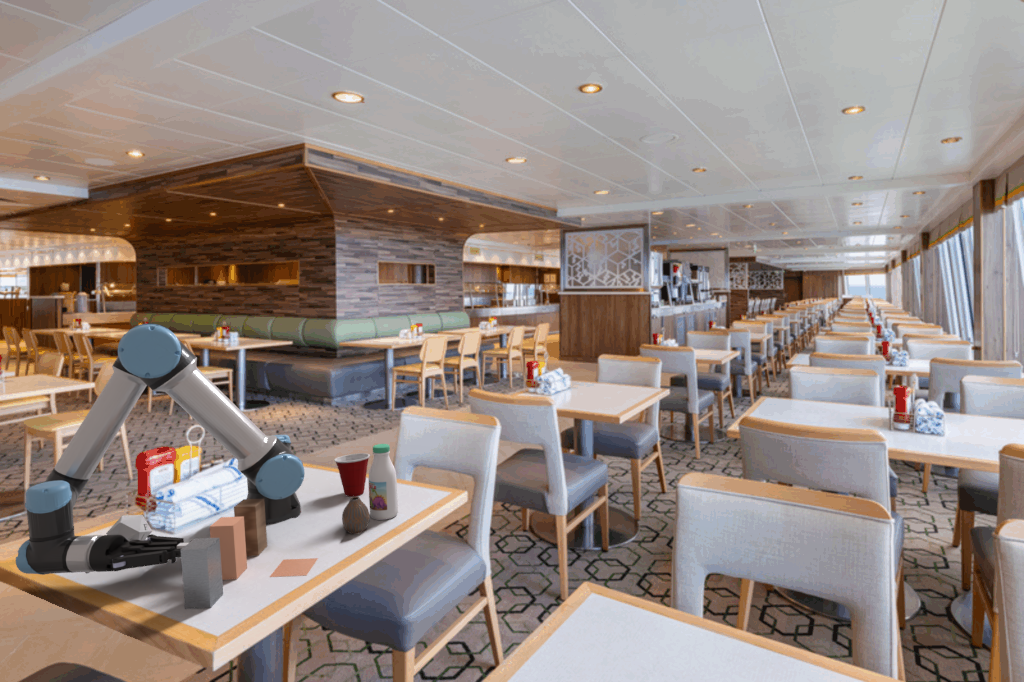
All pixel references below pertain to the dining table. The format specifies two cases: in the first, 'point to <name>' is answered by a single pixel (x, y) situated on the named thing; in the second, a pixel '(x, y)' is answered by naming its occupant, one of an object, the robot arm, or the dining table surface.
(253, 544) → the walnut post
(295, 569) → the terracotta coaster
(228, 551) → the terracotta post
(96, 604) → the dining table surface
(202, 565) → the grey post
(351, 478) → the plastic cup
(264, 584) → the dining table surface
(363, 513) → the vase
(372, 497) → the milk bottle
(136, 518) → the die
